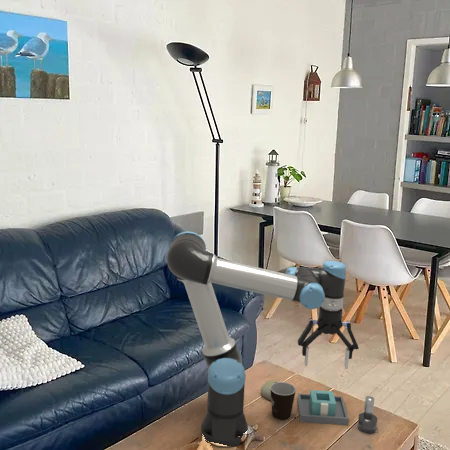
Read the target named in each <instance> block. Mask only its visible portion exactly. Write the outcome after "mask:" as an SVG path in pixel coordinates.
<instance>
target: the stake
mask: <svg viewBox="0 0 450 450" xmlns="http://www.w3.org/2000/svg"><path fill="white" fill-rule="evenodd" d="M374 405H375V398H374V397H373V396H371V395H369V396H368V395H367V396H365V400H364V407H363V409H364V410H363V412H361V413H359V414H358V420H357V429H358V430H359V431H360V432H361V433H364V434H366V435H367V434H369V435H370V434H375V433H376V432H377V426H378V417H377V416H376V415H375V414H374V407H375V406H374Z"/></svg>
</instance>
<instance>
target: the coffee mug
mask: <svg viewBox="0 0 450 450" xmlns="http://www.w3.org/2000/svg"><path fill="white" fill-rule="evenodd" d="M270 389H271V400H270V401H271V403H270V404H271V415H272V417H273V418H274V419H275V420H278V421H288V420H289V419H291V417H292V411H293V407H294V401H295V395H296V391H297V388H296V387H295V386H294V385H293V384H291V383H289V382H284V381H278V382H275V383H274V384H272V385H271V387H270Z"/></svg>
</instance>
